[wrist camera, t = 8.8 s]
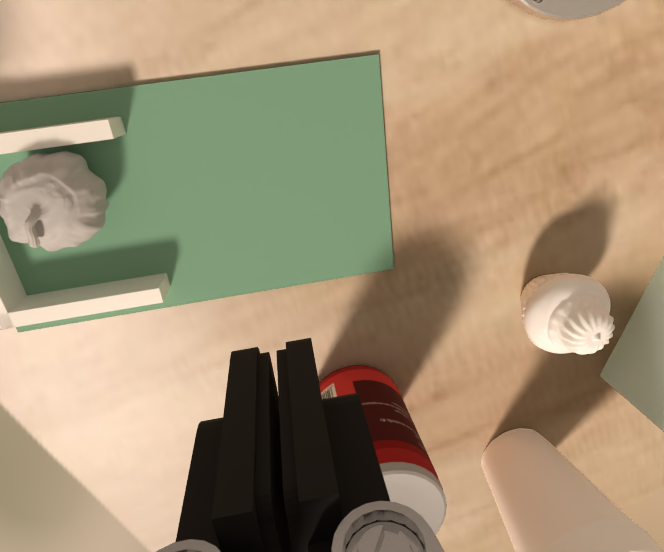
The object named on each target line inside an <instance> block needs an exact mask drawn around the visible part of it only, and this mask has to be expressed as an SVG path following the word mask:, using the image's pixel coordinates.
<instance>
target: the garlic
mask: <svg viewBox="0 0 664 552" xmlns="http://www.w3.org/2000/svg"><path fill="white" fill-rule="evenodd" d="M106 193H107V189H106V185H105V183H104V181H103V180H102V179H101V178H99V177H98V176H96V175H95V174H94V173H92V172H91V171H90V170H89V169H88V165H87V162H86V160H85V159H84V158H83V157H82V156H81V155H78V154H75V153H71V152H67V151H62V152H57V153H52V154H46V153H37V154H34V155H32V156H30V157H28V158H26V159H24V160H22V161H21V162H17V163H14V164H12V165H11V166H10V167H9V168H8V169H7V170H6V171H5V172H4V174H3V175H2V178H1V181H0V216H1V217H2V218H3V219H4V222H5V224H6V226H7V229H8V236H9V238H10V239H11V240H12V241H14V242H19V243H28V244H29V246H30V247H33V248H37V247H39V246H41V247H43V248H44V249H45V250H47V251H57V250H60V249H62V248H64V247H77V246H80V245H81V244H83V243H84V242H85V241H87V240H89V239H91V238H93V237H94V236H95V235H96V233H97V232H98V231H99V230H101V229H102V227H103V226H104V224H105V210H106V209H107V208H108V207H109V202H108V200H107V199H106Z"/></svg>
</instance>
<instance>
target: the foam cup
mask: <svg viewBox="0 0 664 552" xmlns="http://www.w3.org/2000/svg"><path fill="white" fill-rule="evenodd" d="M481 466H482V468H483V471H484V474H485V476H486V479H487V481H488V484H489V486H490V489H491V491H492V494H493V496H494V499H495V501H496V504H497V507H498V509H499V512H500V514H501V517H502V519H503V522H504V524H505V527H506V529H507V532H508V534H509V537H510V539H511V542H512V544H513V547H514V549H515V552H664V550H663V549H662V548H661V547H660V545H659V544H658V543H657V542H656V541H655V539H654V538H653V537H652V536H651V535H650V534H649V532H648V531H647V530H645V529H644V528H642V527H641V526H639V525H638V524H636V523H635V522H633V521H632V520H631V519H630V518H629V517H628V516H627V515H626V514H625V513H624V512H623V511H622V510H621V509H620V508H618V507H617V506H616V505H615V504H614V503H613V502H612V501H611V500H610V499H609V498H608V497H607V496H606V495H605V494H604V493H603V492H602V491H601V490H599V489H598V488H597V487H596V486H595V485H594V484H593V483H592V482H591V481H590V480H589V479H588V478H587V477H586V476H585V475H584V474H583V473H582V472H580V471H579V470H578V469H577V468H576V467H575V466H574V465H573V464H572V463H571V462H570V461H569V460H568V459H567V458H566V457H565V456H564V455H563V454H561V453H560V452H559V451H558V450H557V449H556V448H555V447H554V446H553V445H552V444H551V443H550V442H549V441H548V440H546V439H545V438H544V437H543V436H542V435H541V434H539V433H538V432H536V431H535V430H533V429H525V428H517V429H514V430H510V431H507V432H504V433H502V434H501V435H499V436H498V437H496V438H495V439H493V440H492V441H491V442H490V444H489V445H488V446H487V448H486V449H485V450H484V452H483V455H482V461H481Z"/></svg>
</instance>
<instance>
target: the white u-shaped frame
mask: <svg viewBox="0 0 664 552" xmlns="http://www.w3.org/2000/svg"><path fill="white" fill-rule="evenodd" d="M125 134H126V132H125V128H124V125H123V121H122V118H121V116H118V117H111V118H104V119H96V120H89V121H81V122H74V123H66V124H59V125H51V126H44V127H36V128H29V129H21V130H14V131H6V132H0V154H7V153H14V152H21V151H29V150H36V149H43V148H50V147H58V146H65V145H72V144H79V143H87V142H94V141H101V140H109V139H114V138H117V137H120V136H122V135H125ZM169 288H170V283H169V280H168V276H167V273H162V274H156V275H150V276H144V277H138V278H131V279H125V280H119V281H113V282H107V283H101V284H95V285H88V286H82V287H76V288H70V289H64V290H58V291H52V292H45V293H39V294H33V295H27V294H26V292H25V290H24V288H23V285H22V283H21V281H20V278H19V276H18V274H17V272H16V269H15V267H14V265H13V262H12V260H11V258H10V255H9V253H8V251H7V249H6V246H5V244H4V242H3V239H2V237H1V235H0V330H2V329H8V328H14V327H20V326H26V325H32V324H38V323H44V322H50V321H56V320H62V319H68V318H74V317H79V316H85V315H91V314H97V313H103V312H109V311H115V310H121V309H127V308H133V307H139V306H145V305H151V304H157V303H163V302H164V300H165V297H166V295H167V293H168V291H169Z"/></svg>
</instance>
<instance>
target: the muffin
mask: <svg viewBox="0 0 664 552" xmlns="http://www.w3.org/2000/svg"><path fill="white" fill-rule="evenodd" d="M520 299H521V314H522V322H523V324H524V326H525V330H526V333H527V335H528V337H529V338H530V340H531V341H532V342H533V343H534V344H535V345H536V346H538V347H539V348H541V349H543V350H545V351H548V352H552V353H559V354H563V353H571V352H575V353H577V354H580V355H584V354H592V353H595V352H596V351H597V350H601V349H603V347H604V344H608V343H609V338H611V337H612V336H613V334H612V331H613V330H614V329H615V326H614V325H613V317H612V316H610V315H609V313H610V298H609V295H608V293H607V291H606V289H605V288H604V287H603V285H602V284H601V283H600V282H598V281H597V280H595V279H594V278H592V277H589V276H586V275H581V274H574V273H573V274H569V273H557V274H549V275H541V276H538V277H537V278H534V279H532V281H529V283H528V284H526V287H524V290H523V291H522V294H521V298H520Z"/></svg>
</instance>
